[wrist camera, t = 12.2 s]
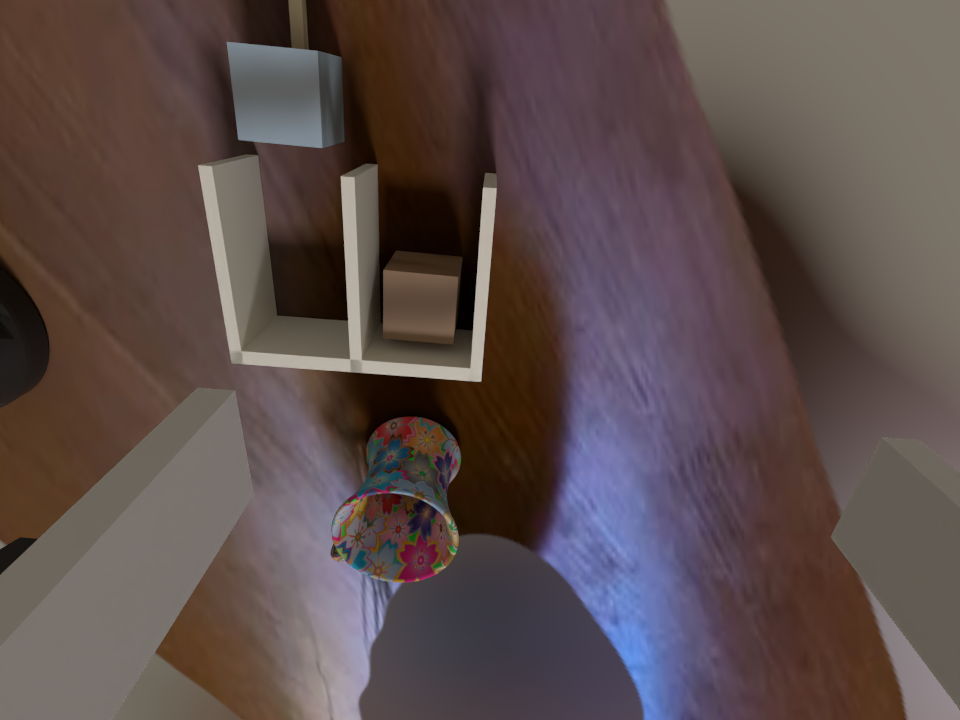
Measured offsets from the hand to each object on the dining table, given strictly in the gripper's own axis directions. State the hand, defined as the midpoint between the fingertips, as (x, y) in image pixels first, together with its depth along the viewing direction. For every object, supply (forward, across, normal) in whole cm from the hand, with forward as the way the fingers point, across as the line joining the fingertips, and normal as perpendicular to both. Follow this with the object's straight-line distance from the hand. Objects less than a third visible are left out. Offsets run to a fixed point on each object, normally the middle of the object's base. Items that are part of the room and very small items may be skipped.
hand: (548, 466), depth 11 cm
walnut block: (+29, -6, -6) cm, 30 cm away
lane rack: (+29, -10, -4) cm, 31 cm away
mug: (+29, -8, -23) cm, 38 cm away
